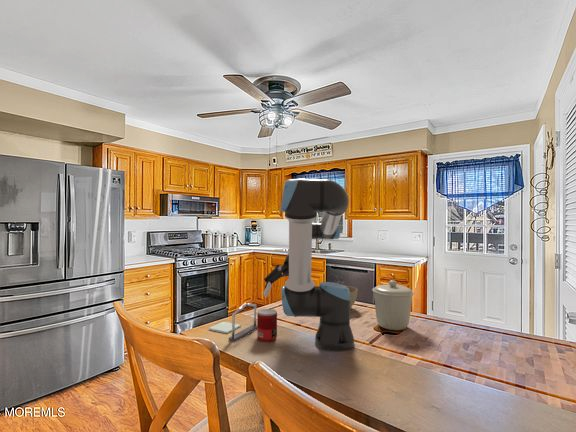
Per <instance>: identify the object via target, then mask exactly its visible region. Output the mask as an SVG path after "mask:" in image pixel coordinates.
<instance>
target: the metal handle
mask: <svg viewBox="0 0 576 432" xmlns="http://www.w3.org/2000/svg"><path fill="white" fill-rule="evenodd" d="M257 306H258V305H257V303H249V302H248V303H246V302H244V303H243V304H242V305H240V306H239V307H238V308H237V309H236V310H235V311H233V312H232V313H231V316H232V317H231V323H232V332H231V336H229V337H228V341H229V340H230V341H229V342H233V341H234V343H235V342H237V341H239V340H241V339H242V338H245V337H246V336H248V335H249V334H251V333H253V332H254V330H255V329H256V330H257ZM245 307H252V308H253V324H252V325H249V326H248V327H245V328H243V329H242V330H241V331H238V332H237V333H236V332H235V324H236V323H235V319H236V318H235V317H236V315H238V313H240V312H241V311H242V310H243V309H244V308H245ZM256 330H255V331H256ZM252 331H253V332H252ZM250 332H251V333H250ZM248 333H249V334H248ZM247 334H248V335H247ZM245 335H246V336H245ZM240 338H241V339H240Z"/></svg>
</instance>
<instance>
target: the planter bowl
mask: <svg viewBox="0 0 576 432" xmlns="http://www.w3.org/2000/svg"><path fill="white" fill-rule="evenodd" d="M345 286H346V287H347V288H348V289H349V291H350V311H351V310H352V307H353V306H354V304H355V303H356V300H357V297H358V288H357V287H354V286H352V285H351V286H349V285H345Z"/></svg>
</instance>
